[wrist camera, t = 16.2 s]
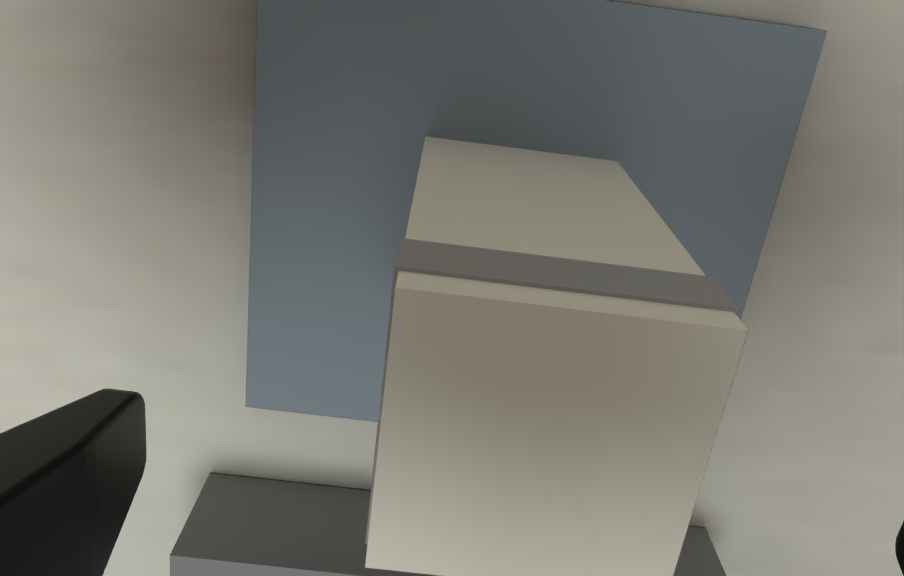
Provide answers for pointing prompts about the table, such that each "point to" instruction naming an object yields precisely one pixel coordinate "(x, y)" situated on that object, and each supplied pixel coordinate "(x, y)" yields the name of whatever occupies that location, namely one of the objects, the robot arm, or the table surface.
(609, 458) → the plug
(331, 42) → the mat
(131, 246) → the table surface
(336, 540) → the socket block
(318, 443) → the table surface
